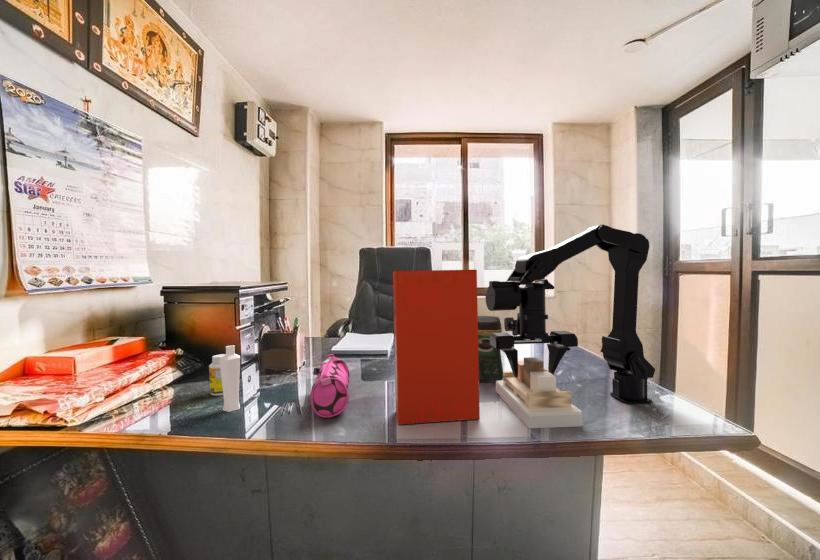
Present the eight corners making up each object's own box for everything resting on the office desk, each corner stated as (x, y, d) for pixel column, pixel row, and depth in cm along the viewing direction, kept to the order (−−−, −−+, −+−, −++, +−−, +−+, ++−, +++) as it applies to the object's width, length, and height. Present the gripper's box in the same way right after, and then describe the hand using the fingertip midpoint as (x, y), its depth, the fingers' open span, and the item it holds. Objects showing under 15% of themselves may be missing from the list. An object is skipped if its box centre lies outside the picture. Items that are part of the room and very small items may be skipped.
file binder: (395, 410, 81) (392, 271, 80) (468, 406, 83) (466, 270, 82) (398, 425, 73) (395, 271, 72) (479, 420, 75) (477, 269, 74)
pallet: (537, 382, 90) (537, 350, 90) (571, 406, 73) (571, 368, 73) (503, 383, 90) (502, 352, 90) (529, 408, 73) (528, 370, 73)
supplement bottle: (211, 391, 98) (210, 354, 97) (233, 388, 100) (232, 352, 100) (208, 397, 92) (207, 358, 92) (232, 394, 95) (231, 356, 94)
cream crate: (547, 389, 79) (547, 371, 79) (556, 395, 75) (556, 376, 75) (530, 389, 79) (530, 371, 78) (537, 396, 75) (537, 377, 74)
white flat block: (537, 390, 93) (537, 379, 93) (582, 426, 71) (582, 411, 71) (496, 391, 92) (495, 380, 92) (528, 428, 70) (528, 413, 70)
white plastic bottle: (238, 403, 88) (237, 343, 87) (245, 408, 85) (243, 345, 84) (218, 408, 84) (216, 346, 84) (224, 413, 81) (222, 348, 81)
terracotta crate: (530, 376, 89) (530, 360, 89) (536, 381, 85) (536, 364, 85) (514, 376, 89) (514, 361, 88) (520, 381, 85) (520, 365, 84)
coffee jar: (502, 375, 107) (501, 314, 106) (503, 383, 99) (502, 317, 99) (470, 374, 109) (469, 314, 109) (468, 382, 101) (467, 317, 101)
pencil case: (313, 390, 97) (312, 354, 97) (349, 387, 99) (348, 352, 99) (307, 422, 76) (306, 376, 76) (352, 417, 78) (352, 372, 78)
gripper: (555, 305, 90) (556, 366, 90) (483, 307, 89) (484, 368, 89) (578, 309, 79) (579, 379, 79) (496, 311, 78) (497, 382, 78)
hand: (533, 376), depth 82 cm, fingers open, 8 cm apart
